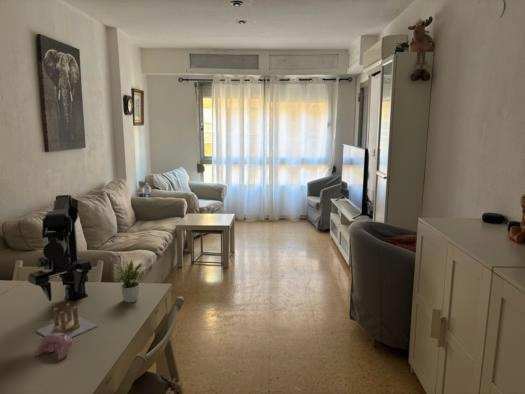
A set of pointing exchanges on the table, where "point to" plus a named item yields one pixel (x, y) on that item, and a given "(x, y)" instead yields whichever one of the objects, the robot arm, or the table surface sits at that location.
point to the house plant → (130, 282)
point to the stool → (66, 325)
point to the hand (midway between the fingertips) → (63, 296)
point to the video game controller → (51, 342)
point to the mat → (83, 328)
